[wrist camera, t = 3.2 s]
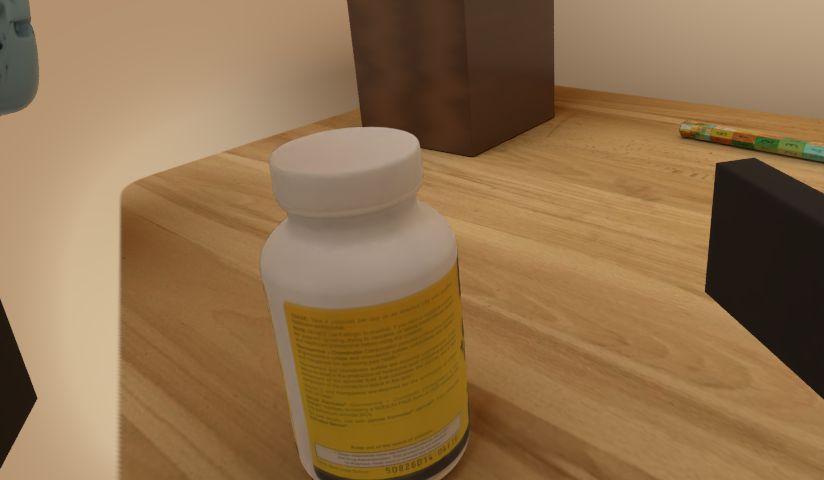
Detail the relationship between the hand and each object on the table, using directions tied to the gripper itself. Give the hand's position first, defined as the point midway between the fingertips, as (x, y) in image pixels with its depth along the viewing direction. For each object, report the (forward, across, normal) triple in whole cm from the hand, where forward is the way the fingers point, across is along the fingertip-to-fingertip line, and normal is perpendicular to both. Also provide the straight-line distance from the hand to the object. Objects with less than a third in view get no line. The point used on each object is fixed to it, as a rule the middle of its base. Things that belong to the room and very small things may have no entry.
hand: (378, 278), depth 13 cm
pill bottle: (+10, 0, -12) cm, 16 cm away
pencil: (+32, +32, -12) cm, 46 cm away
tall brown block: (+49, +11, -12) cm, 52 cm away
